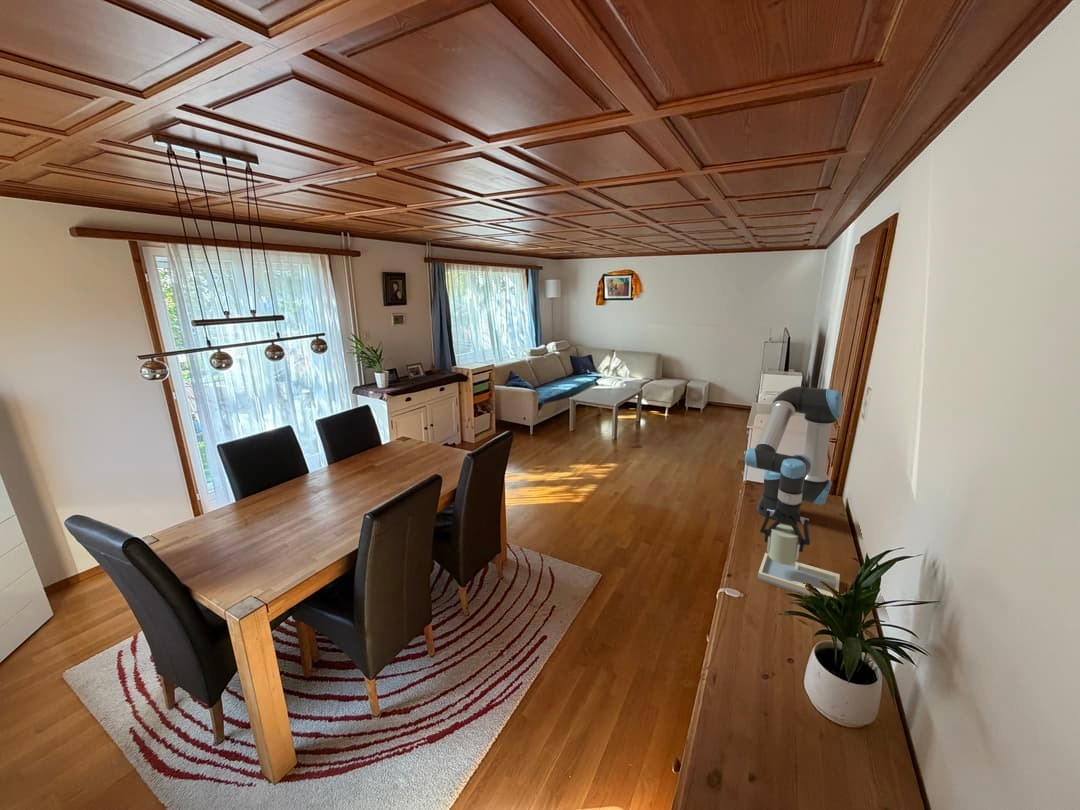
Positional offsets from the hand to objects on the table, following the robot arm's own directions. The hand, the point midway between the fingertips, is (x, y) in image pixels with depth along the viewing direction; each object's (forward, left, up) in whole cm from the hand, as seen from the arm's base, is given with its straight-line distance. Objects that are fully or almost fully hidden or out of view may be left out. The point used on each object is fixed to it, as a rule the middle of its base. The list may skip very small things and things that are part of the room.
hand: (782, 553), depth 160 cm
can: (0, 0, -2) cm, 2 cm away
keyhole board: (0, +6, -9) cm, 11 cm away
